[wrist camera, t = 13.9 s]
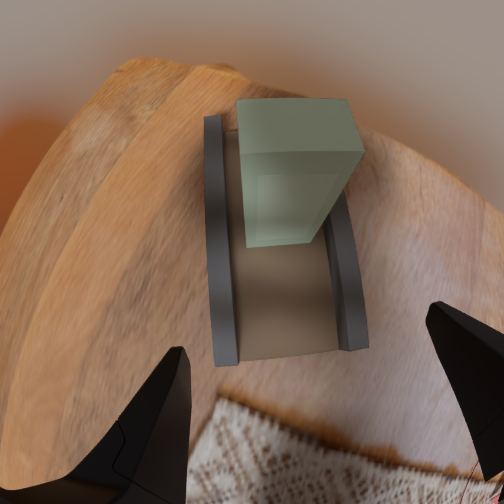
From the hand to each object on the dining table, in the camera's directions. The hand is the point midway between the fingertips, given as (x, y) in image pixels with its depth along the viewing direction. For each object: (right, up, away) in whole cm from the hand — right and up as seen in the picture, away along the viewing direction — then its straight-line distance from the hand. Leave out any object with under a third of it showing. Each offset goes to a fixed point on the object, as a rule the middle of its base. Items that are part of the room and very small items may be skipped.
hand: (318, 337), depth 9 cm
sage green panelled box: (0, +5, +14) cm, 15 cm away
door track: (0, +4, +15) cm, 16 cm away
